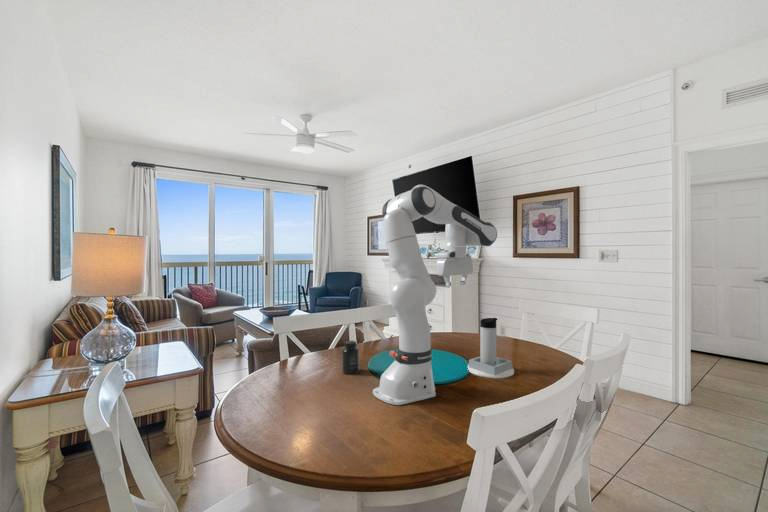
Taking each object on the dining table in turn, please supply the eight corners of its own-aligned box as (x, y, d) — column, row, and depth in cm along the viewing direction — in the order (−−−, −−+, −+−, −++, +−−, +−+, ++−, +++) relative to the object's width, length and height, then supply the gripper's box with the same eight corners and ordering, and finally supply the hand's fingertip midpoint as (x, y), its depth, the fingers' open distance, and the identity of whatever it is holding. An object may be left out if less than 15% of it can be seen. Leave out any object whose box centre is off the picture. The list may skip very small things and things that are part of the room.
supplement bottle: (360, 369, 146) (360, 339, 146) (357, 374, 140) (357, 344, 139) (343, 368, 147) (343, 339, 147) (340, 374, 140) (339, 344, 140)
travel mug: (499, 370, 141) (499, 319, 140) (483, 370, 140) (483, 320, 140) (493, 364, 147) (493, 316, 146) (478, 365, 146) (478, 317, 146)
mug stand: (496, 382, 131) (496, 371, 131) (458, 369, 145) (458, 359, 145) (523, 371, 142) (523, 361, 142) (484, 360, 156) (484, 351, 156)
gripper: (465, 253, 163) (465, 283, 163) (434, 253, 150) (434, 286, 150) (476, 253, 158) (476, 284, 158) (445, 253, 145) (445, 287, 145)
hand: (455, 285), depth 154 cm, fingers open, 8 cm apart
